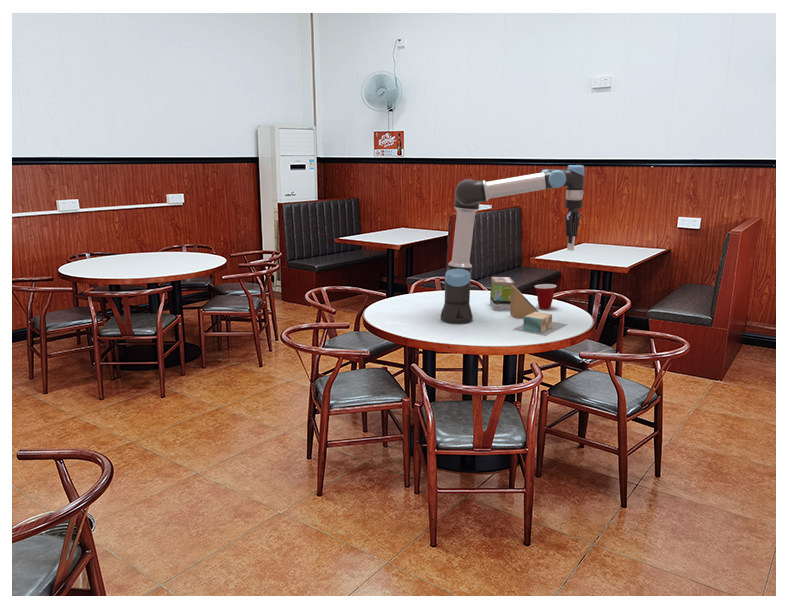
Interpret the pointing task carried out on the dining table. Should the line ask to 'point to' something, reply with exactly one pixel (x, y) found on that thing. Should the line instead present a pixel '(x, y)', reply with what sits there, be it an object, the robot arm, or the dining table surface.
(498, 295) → the tea box
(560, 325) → the grey mat
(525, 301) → the sandwich container
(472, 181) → the robot arm
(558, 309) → the dining table surface
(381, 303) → the dining table surface
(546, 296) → the plastic cup
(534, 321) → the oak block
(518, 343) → the dining table surface
